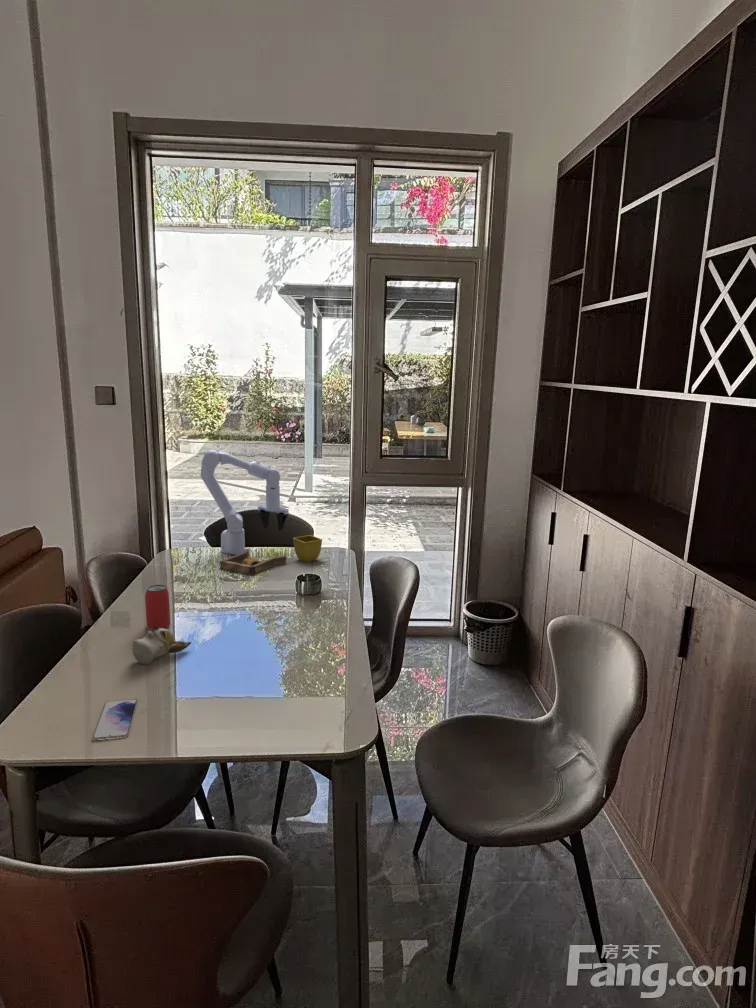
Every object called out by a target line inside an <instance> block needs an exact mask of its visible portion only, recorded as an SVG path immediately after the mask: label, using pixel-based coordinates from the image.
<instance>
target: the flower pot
mask: <svg viewBox="0 0 756 1008" xmlns="http://www.w3.org/2000/svg"><path fill="white" fill-rule="evenodd" d="M292 540H293V547H294V549H293V550H294V552H295V554H296V556H297V558H298V559H299V560H301V561H302V562H305V563H307V562H312V561H316V560H317V559H318V558H319V557H320V556H319V555H320V554H321V552H322V551H321V550H322V544H323V543H322V542H323V538H319V537H317V536H314V535H311V534H309V535H302V536H297V537H292Z"/></svg>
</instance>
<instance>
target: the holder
mask: <svg viewBox="0 0 756 1008" xmlns="http://www.w3.org/2000/svg"><path fill="white" fill-rule="evenodd" d="M246 558H250V549H249V548H245V550H244V551H243V553H240V554H237V555H235V554H234V555H233V556H229V557H227V558H224V559H222V560H220V561H219V569H221V570H225V571H230V572H235V573H240V574H245V575H249V576H254V575H257V574H259V573H262V572H264V571H267V570H268V569H270V568H273V567H275V566H283V565H286V564H287V561H286V560H287V557H286V556H285V555H280V556H274V557H269V558H267V559H266V560H263V561H261V562H260V563H258V564H255V565H253V566H250V565H245V564H243V560H244V559H246Z"/></svg>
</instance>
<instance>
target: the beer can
mask: <svg viewBox="0 0 756 1008" xmlns="http://www.w3.org/2000/svg"><path fill="white" fill-rule="evenodd" d="M144 602H145V605H144V606H145V617H146V619H145V620H146V627H147V629H149V630H150V629H152V628H153V627H158V628H164V629H167V628H168V627H170V625H171V608H170V593H169V590H168V588H167V586H166V585H165V584H153V585H149V586H147V587H146V590H145V595H144Z"/></svg>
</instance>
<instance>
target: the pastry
mask: <svg viewBox="0 0 756 1008" xmlns="http://www.w3.org/2000/svg"><path fill="white" fill-rule="evenodd" d="M260 562H262V561H261V560H259V559H258V558H255V557H248V558H246V559H244V560H243V562H242V564H245V565H250V566H253V565H255V564H258V563H260Z"/></svg>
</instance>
